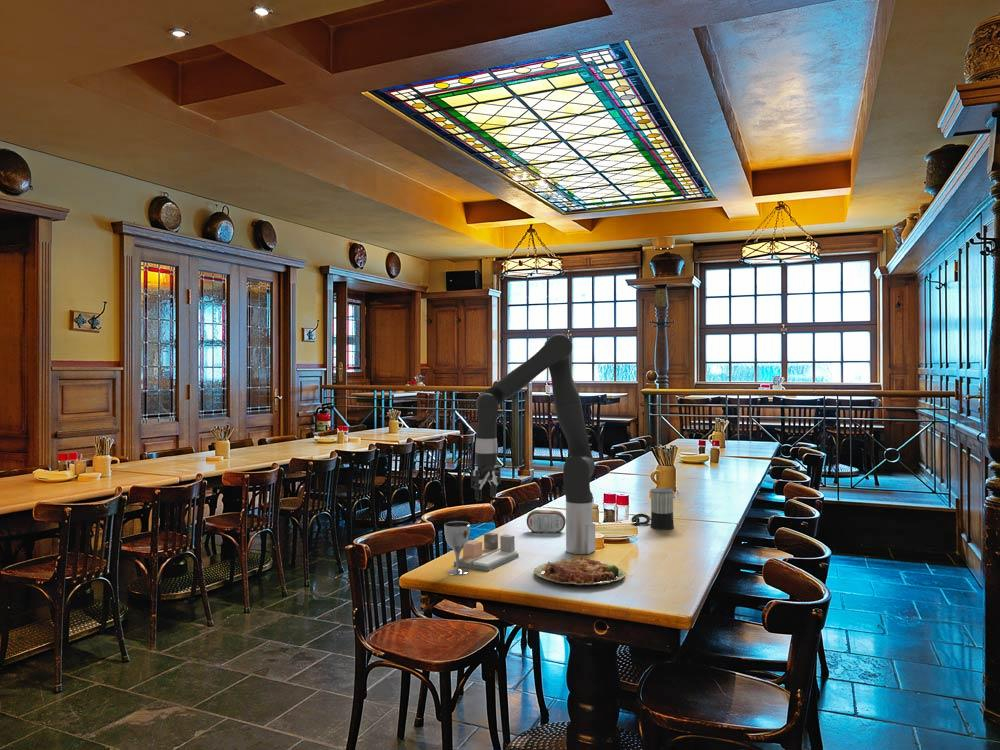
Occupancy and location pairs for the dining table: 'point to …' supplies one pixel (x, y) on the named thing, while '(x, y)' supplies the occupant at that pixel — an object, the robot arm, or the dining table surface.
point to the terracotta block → (472, 549)
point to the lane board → (488, 566)
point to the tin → (546, 521)
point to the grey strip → (499, 552)
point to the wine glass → (457, 541)
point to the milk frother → (659, 510)
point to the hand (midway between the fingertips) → (485, 498)
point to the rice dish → (579, 571)
